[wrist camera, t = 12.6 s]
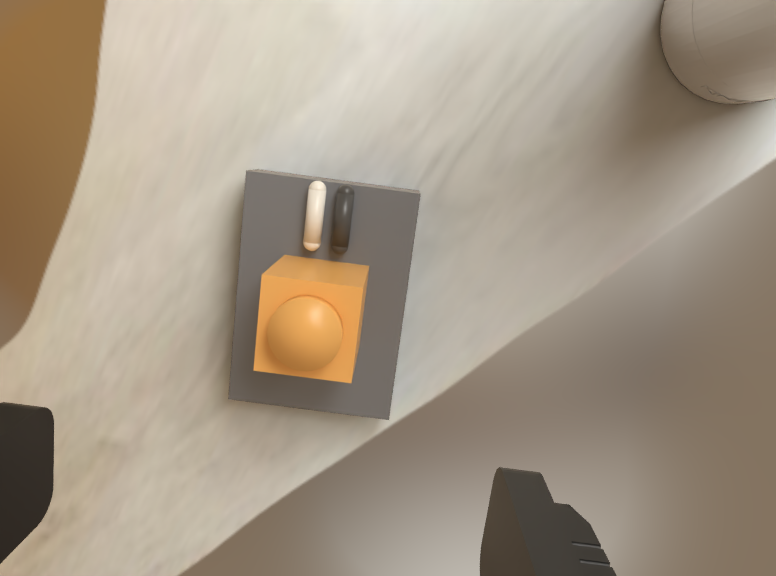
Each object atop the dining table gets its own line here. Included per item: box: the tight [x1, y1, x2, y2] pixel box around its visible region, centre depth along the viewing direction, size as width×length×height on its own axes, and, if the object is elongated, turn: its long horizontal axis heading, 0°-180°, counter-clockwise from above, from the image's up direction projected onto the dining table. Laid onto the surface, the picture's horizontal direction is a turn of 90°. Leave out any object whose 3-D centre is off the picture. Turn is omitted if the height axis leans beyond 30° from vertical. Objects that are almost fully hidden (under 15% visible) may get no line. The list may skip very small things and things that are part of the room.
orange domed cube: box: [253, 255, 369, 383], centre depth 33 cm, size 5×5×7 cm
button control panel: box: [229, 169, 420, 420], centre depth 35 cm, size 14×10×8 cm
